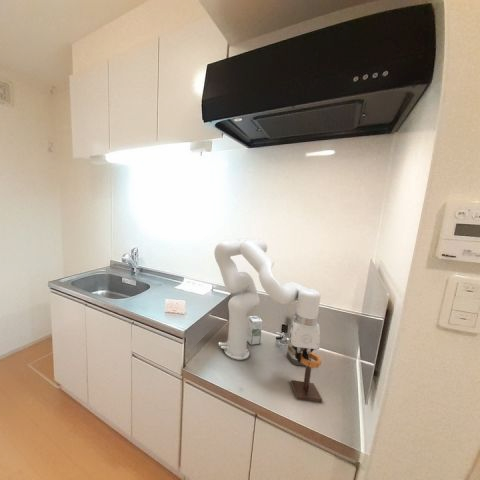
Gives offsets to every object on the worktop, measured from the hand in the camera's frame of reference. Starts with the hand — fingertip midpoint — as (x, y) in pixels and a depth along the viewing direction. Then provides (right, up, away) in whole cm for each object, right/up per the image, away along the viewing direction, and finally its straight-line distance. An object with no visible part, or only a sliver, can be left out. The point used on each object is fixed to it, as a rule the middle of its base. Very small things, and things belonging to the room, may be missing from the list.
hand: (301, 360), depth 105 cm
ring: (+3, 0, -1) cm, 3 cm away
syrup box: (-6, -8, +38) cm, 39 cm away
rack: (+3, -15, +2) cm, 15 cm away
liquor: (+11, -11, +23) cm, 28 cm away
